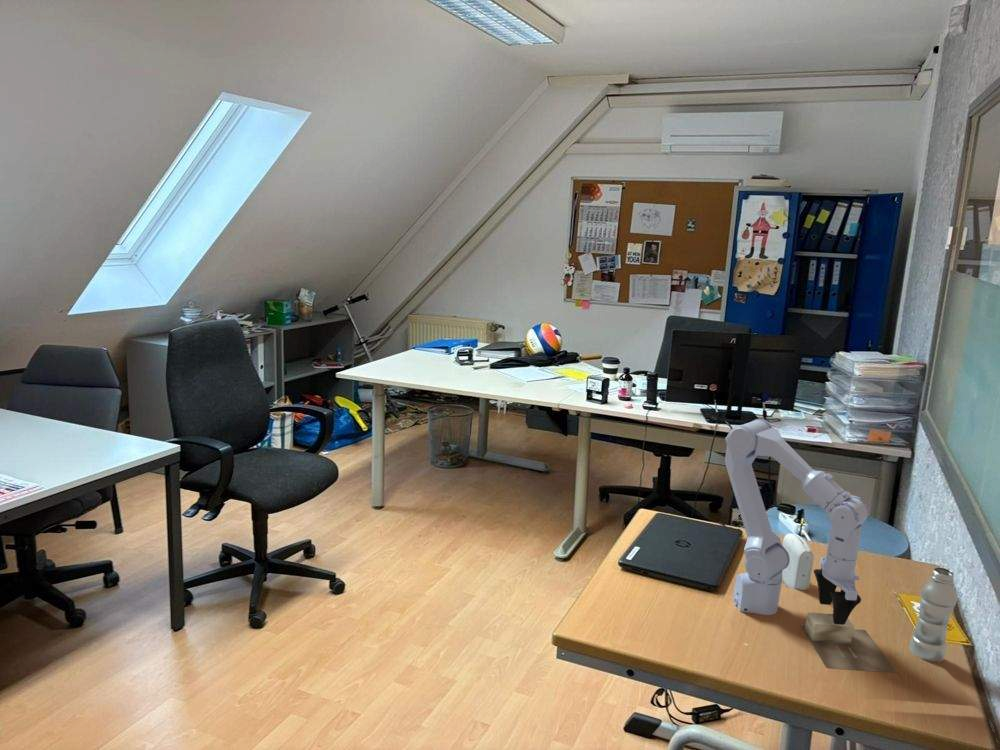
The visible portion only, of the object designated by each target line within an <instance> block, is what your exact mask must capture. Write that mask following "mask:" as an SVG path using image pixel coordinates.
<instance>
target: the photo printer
mask: <svg viewBox="0 0 1000 750" xmlns="http://www.w3.org/2000/svg"><path fill="white" fill-rule="evenodd" d="M782 545H783V546H784V547H785V549H786V550H787V551H788V553H789V556H790V563H789V565H788V567H787V568H785V569H783V572H782V577H783V578H782V583H784V584H785V586H786V587H787V588H788V589H796V590H802V591H804V590H805V591H806V590H809V587H810V582H811V577H812V572H813V565H814V561H815V559H814V558H815V555H814V552H813V550H812V547H811V546H810V545H809V543H808V542H807V541H806V540H805V539H804V538H803V537H802V536H800V535H798V534H796V533H787V534H786V535H785V536H784V537H783V540H782Z"/></svg>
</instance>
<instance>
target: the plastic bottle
mask: <svg viewBox="0 0 1000 750" xmlns="http://www.w3.org/2000/svg"><path fill="white" fill-rule="evenodd" d="M954 574H955V573H954V572H953V571H952V570H950V569H948V568H945V567H940V566H939V567H938V566H937V567H934V568H933V570H932V573H931V575H930V576H931V579H930V580H929V581H928V582H927V583H925V584H924V585H923V587H922V588H921V590H920V602H919V612H918V618H917V622H916V626H915V628H914V632H913V633H912V636H911V638H910V640H909V651H910V652H911V653H912V654H913V655H914V656H916V657H917V658H918V659H921V660H924V661H928V662H934V663H935V662H938V663H941V662H942V661H943V659H944V657H945V656H946V649H947V648H946V644H947V643H946V639H947V632H948V626H949V623H950V620H951V616H952V614H953V611H954V609H955V606H956V605H957V602H958V598H957V596H958V595H957V593H956V591H955V589H954V587H953V585H952V584H953V583H954V577H955V575H954Z"/></svg>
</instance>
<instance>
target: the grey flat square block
mask: <svg viewBox="0 0 1000 750" xmlns="http://www.w3.org/2000/svg"><path fill="white" fill-rule="evenodd" d="M800 627H801V629H802V630H803V632H804V634H805V636H806V637H807V639H808V640H809V642H810V644H811V645H812V647H813V649H814V650H815V652H816V654H818V657H819V658H820V660H821V661H822V663H823V665H824V666H825V668H826V669H834V670H848V671H850V670H851V671H860V672H861V671H862V672H875V673H888V674H889V673H892V674H899V672H898V671H897V669H896V668H895V667H894V666H893V664H892V663H891V661H890V660H889V659H888V658H887V656H886V655H885V653H884V652H883V651H882V650H881V648H880V647H879V645H877V643H876V642H875V641H874V639H873V638H872V636H871V635H870V634H869V632H867V630H866V629H856V628H854V629H853V634H852V640H851V644H848V643H835V642H821V641H812V640H811V638H810V636H809V635H808V633H807V632H806V630H805V625H800Z"/></svg>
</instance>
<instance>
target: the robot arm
mask: <svg viewBox="0 0 1000 750" xmlns="http://www.w3.org/2000/svg"><path fill="white" fill-rule="evenodd" d="M724 439H725V442H726V450H725V457H724V465H725V467H726V470H727V474H728V477H729V480H730V483H731V487H732V491H733V494H734V497H735V501H736V504H737V506H738V507H737V508H738V510H739V513H740V516H741V520H742V524H743V527H744V531H745V533H746V537H747V539H746V543H745V545H744V549H743V552H744V556H745V561H744V568H745V571H746V572H745V573H744V572H743V573H737V575H736V576H735V581H734V582H735V583H734V589H733V596H732V598H733V602H734V603H733V604H734V605H735V606H737V607H736V608H738V611H739V612H741V613H751V614H757V615H758V614H759V615H763V616H772V615H775V614H776V613H777V612H778V610H779V602H780V596H781V591H782V583H783V580H782V578H783V577H782V572H783V569H785V568H787V567H788V565H789V563H790V556H789V553H788V551H787V550H786V549H785V547H784V546H783V542H782V540H781V538H780V536H779V535H777V534H776V533H775V532H773V530H772V527H771V523H770V521H769V518H768V514H767V510H766V507H765V504H764V501H763V498H762V494H761V491H760V487H759V485H758V482H757V478H756V475H755V471H754V468H753V462H754V461H755V459H756V458H757V457H758V456H761V457H762V456H763V457H770V458H773V459H774V460H775V461H776V462H778V463H779V464H780V465H782V467H784V468H785V469H786V470H787V471H788V472H790V474H792V475H793V476H795V477H796V478H797V479H798V480H799V481H800V482H801V483H802V484H801V485H802V491H803V492H804V493H805V494H806V495H807V496H809V497H810V498H811V499H812V501H814V502H815V503H816V504H817V505H818V506H820V508H821V509H822V510H824V512H825V513H827V517H828V521H829V523H830V524H831V526H830V532H829V539H828V541H827V542H828V543H827V548H826V555H825V557H823V556H822V557H820V561H819V567H820V569H817V568H816V569H813V574H814V576H815V579H816V582H817V583H816V584H817V591H818V601H819V604H820V605H826V606H827V605H828V606H830V605H831V604H832V608H833V609H832V614H833V622H834V624H841V625H844V624H845V623H846V621H847V619H849V616H850V615H851V613H852V611H854V609H855V607H857V605H859V604H861V602H862V597H861V596H860V595H859V594H858V593H859V592H858V590H857V589H856V581H859V580H860V576H859V575H858V573H856V572H855V570H856V564H857V559H858V556H859V555H858V554H859V548H860V542H861V535H862V528H863V525H862V524H863V523H864V522H866V520H867V519H868V518H869V513H870V512H869V508H868V505H867V504H866V502H865V500H863V499H862V497H859V496H856V495H852V494H851V492H849V491H845V490H844V488H842V487H841V486H840V485H839V484H838V483H837V482H836V481H835V480H833V478H834V476H833V475H832V474H830V472H829V473H826V472H824V471H823V470H814V469H813V468H812V467H811V466H810V465H809V464H808V463H807V461H805V460H804V459H803V458H802V457H801V456H800V455H799V453H797V451H796V450H795V449H793V448H792V446H790V444H789V443H787V442H786V440H785V439H784V438H783V436H782V435H781V433H780V431H779V430H778V429H777V428H776V427H774V426H772V425H771V423H770V422H769V421H767V420H765V419H762V418H755V419H754V420H752V421H750V422H747V423H743V424H740V425H736V426H734V427H733V428H732V429H731V430H730V431H729V432H728V433H727V436H726V437H725V438H724ZM837 588H839V589H840V590H839V591H836V590H837Z"/></svg>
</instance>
